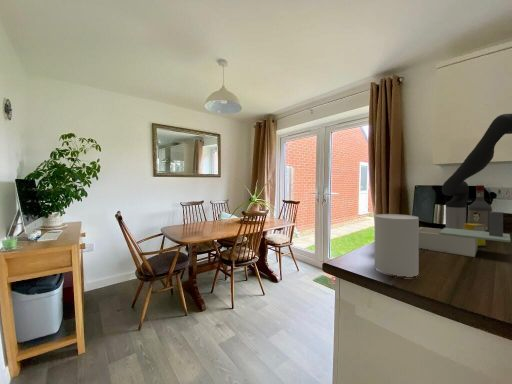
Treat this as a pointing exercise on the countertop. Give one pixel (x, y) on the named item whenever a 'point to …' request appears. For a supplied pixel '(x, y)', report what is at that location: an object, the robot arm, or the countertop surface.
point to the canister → (397, 244)
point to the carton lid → (493, 234)
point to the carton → (446, 242)
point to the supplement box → (476, 228)
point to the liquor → (479, 209)
